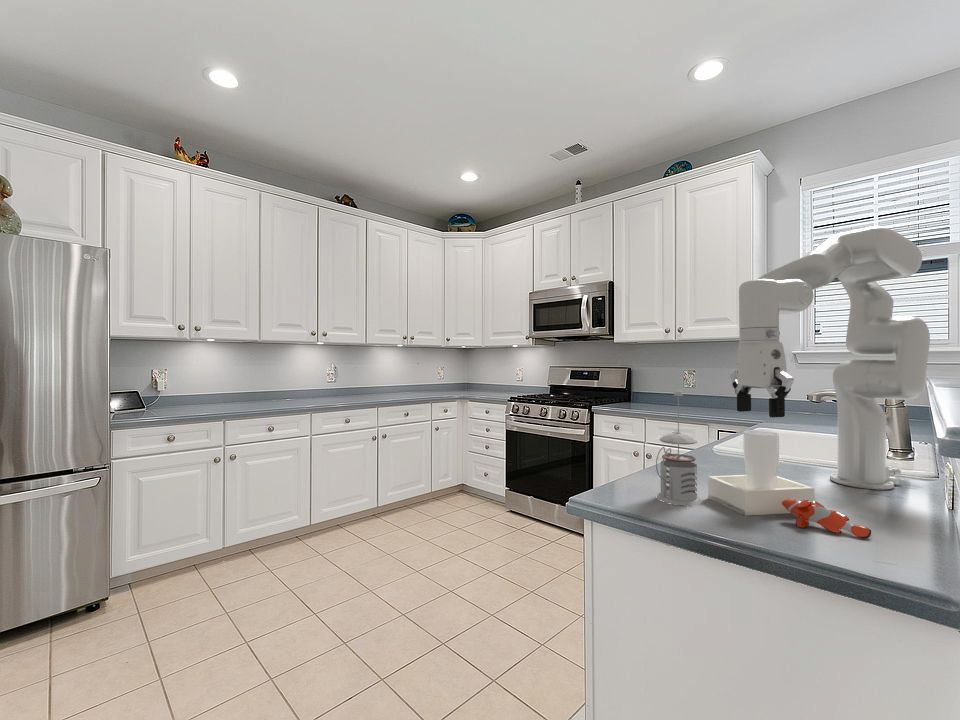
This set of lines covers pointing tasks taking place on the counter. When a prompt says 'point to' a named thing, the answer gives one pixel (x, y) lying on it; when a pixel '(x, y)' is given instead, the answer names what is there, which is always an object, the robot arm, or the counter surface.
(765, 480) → the drinking glass
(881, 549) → the counter surface
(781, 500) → the bin
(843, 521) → the fish
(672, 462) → the french press
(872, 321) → the robot arm
